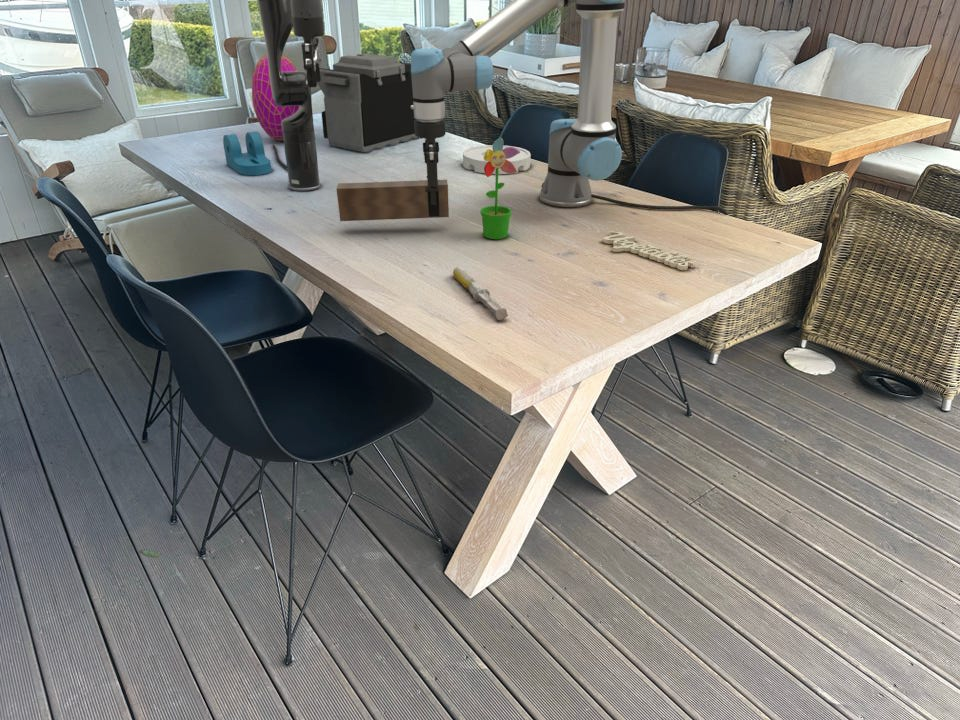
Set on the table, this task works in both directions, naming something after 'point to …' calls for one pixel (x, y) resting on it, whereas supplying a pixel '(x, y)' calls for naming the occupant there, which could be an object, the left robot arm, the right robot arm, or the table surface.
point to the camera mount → (246, 154)
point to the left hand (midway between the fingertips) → (314, 84)
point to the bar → (388, 200)
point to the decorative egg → (269, 99)
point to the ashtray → (476, 162)
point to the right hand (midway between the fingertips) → (433, 212)
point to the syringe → (479, 293)
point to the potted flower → (497, 215)
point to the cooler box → (367, 102)
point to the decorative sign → (647, 251)
